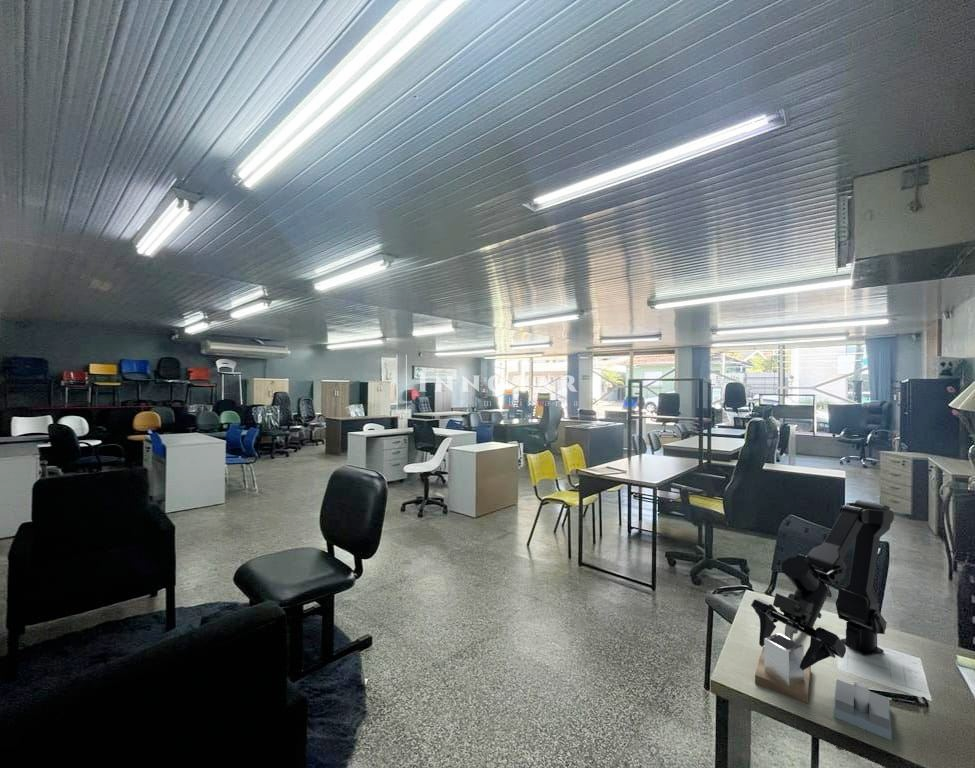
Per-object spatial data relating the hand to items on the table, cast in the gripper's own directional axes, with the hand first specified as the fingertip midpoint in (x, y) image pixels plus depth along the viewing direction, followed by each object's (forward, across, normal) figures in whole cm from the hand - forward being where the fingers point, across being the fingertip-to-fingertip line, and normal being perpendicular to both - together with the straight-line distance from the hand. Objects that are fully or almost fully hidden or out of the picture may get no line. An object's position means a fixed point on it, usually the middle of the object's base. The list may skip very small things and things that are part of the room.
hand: (780, 656), depth 99 cm
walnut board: (+2, -2, +8) cm, 8 cm away
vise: (0, +12, +10) cm, 16 cm away
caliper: (-14, -11, +25) cm, 30 cm away
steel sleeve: (+2, 0, +4) cm, 5 cm away
